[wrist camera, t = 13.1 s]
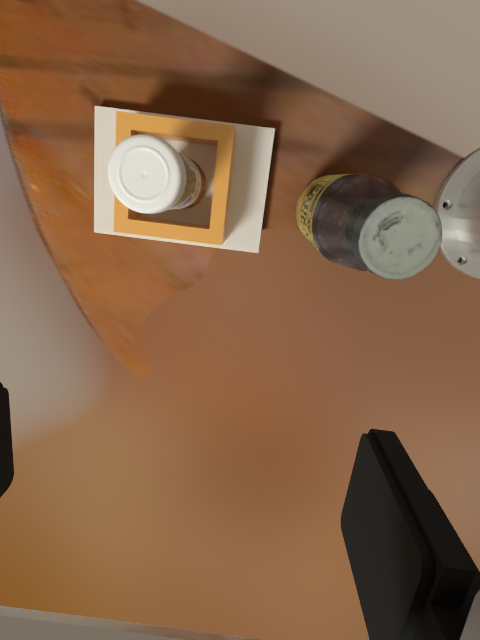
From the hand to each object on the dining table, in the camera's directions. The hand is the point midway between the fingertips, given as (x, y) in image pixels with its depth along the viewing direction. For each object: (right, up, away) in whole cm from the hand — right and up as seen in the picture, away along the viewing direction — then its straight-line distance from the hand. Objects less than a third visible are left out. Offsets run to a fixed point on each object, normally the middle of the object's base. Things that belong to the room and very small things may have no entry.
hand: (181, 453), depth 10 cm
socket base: (-4, +16, +27) cm, 32 cm away
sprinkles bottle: (-4, +16, +26) cm, 31 cm away
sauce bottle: (+10, +14, +27) cm, 32 cm away
